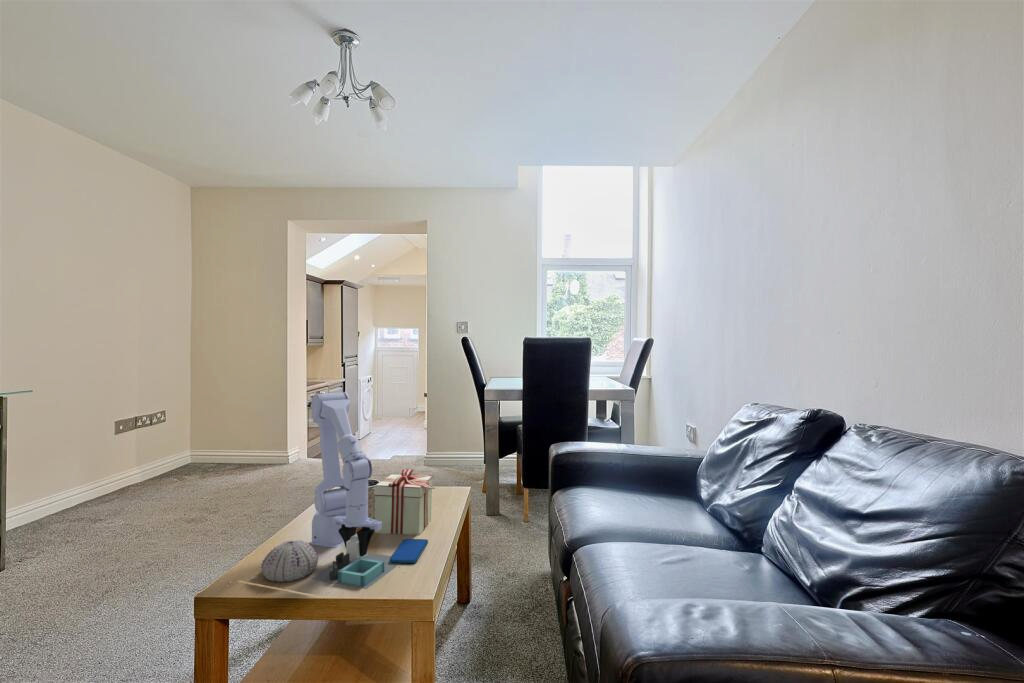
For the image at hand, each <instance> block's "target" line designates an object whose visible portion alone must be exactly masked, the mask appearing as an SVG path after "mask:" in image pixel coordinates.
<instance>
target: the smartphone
mask: <svg viewBox="0 0 1024 683" xmlns="http://www.w3.org/2000/svg"><path fill="white" fill-rule="evenodd" d="M428 544H429V540H428V539H426V538H425V539H423V538H422V539H421V538H419V539H418V538H405V539H403V540H402V541H401V543H400V544H399V545H398V546H397V548H396V549H395V551H394V552H393V553H392V555H390V556H391V557H390V562H399V563H400V564H402V563H403V564H405V563H406V564H407V563H408V564H409V563H410V564H414V563H415V564H416V563H417V562H418V560H419V559H420V557H421V555H422V553H423V551H424V550H425V548H426V547H427V545H428Z"/></svg>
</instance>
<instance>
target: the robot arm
mask: <svg viewBox="0 0 1024 683" xmlns="http://www.w3.org/2000/svg"><path fill="white" fill-rule="evenodd" d="M350 399H351V398H350V396H349V394H348V393H347V392H346V391H342V392H328V393H327V392H326V393H317V392H316V393H314V394H313V395H312V398H311V401H310V402H311V403H310V410H311V418H312V422H313V423H314V424H317V426H318V435H319V443H320V455H321V462H322V473H323V474H322V475H323V479H322V480H321V481H320V482H319V483H318V484H317V486H316V487H315V488H314V500H313V502H314V508H315V511H316V513H314V515H313V516H312V520H311V541H310V542H309V544H310V545H315V546H321V547H327V548H333V549H335V548H339V547H341V546H342V545H344V546H345V548H346V542H347V541H348V540H350V537H352V536H354V535H355V534H357V536H358V540H359V552H360V556H364V555H365V554H367V553H368V549H369V545H370V541H371V540H372V537H373V536H374V533H375V531H379V530H381V529H382V522H381V521H377V520H375V518H374V519H373V518H370V517H369V479H370V478H371V477H372V475H373V474H372V473H373V465H372V461H371V459H370V458H369V457H368V456H367V454H364V452H363V449H362V446H361V444H360V441H359V438H358V436H356V435H353V433H352V428H351V424H350V419H349V416H348V415H349V414H348V413H349V411H350V406H351V405H350V404H351V400H350ZM338 439H339V440H338ZM340 458H341V461H342V464H343V466H342V470H341V464H340V463H341V462H340ZM341 472H342V473H341ZM333 488H334V489H333ZM328 489H329V490H328ZM358 528H360V529H359V530H358V531H357V529H358Z"/></svg>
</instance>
